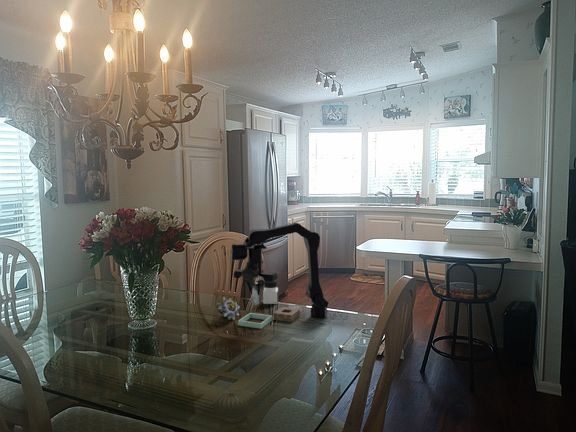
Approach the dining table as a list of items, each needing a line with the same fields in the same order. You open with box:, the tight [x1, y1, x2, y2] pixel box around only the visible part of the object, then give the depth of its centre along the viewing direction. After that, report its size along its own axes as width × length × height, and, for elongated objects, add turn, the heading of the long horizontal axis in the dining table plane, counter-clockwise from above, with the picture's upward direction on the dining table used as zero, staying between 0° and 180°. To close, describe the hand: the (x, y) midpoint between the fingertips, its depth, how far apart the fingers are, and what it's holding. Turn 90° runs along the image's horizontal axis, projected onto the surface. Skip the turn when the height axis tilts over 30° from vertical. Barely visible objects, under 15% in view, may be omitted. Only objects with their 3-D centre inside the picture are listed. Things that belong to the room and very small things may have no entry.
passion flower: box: [215, 296, 241, 321], centre depth 202 cm, size 11×11×12 cm
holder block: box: [272, 306, 301, 323], centre depth 199 cm, size 9×9×4 cm
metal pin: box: [251, 281, 260, 306], centre depth 191 cm, size 3×3×9 cm
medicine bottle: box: [262, 279, 279, 305], centre depth 222 cm, size 7×7×12 cm
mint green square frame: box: [237, 312, 273, 330], centre depth 193 cm, size 11×11×3 cm
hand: (255, 294), depth 191 cm, fingers closed on metal pin, 3 cm apart
